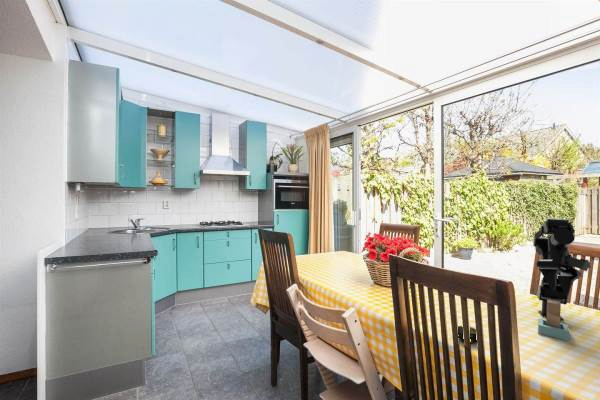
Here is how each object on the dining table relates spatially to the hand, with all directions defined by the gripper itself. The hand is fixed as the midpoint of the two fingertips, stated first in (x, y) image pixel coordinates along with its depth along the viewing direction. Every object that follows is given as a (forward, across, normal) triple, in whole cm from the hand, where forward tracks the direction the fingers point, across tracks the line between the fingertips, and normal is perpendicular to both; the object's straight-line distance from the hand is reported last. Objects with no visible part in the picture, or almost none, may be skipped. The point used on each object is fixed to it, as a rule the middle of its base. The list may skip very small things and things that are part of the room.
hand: (560, 292), depth 109 cm
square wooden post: (+15, -4, +1) cm, 15 cm away
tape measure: (+23, -38, +10) cm, 45 cm away
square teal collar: (+15, -4, +1) cm, 15 cm away
